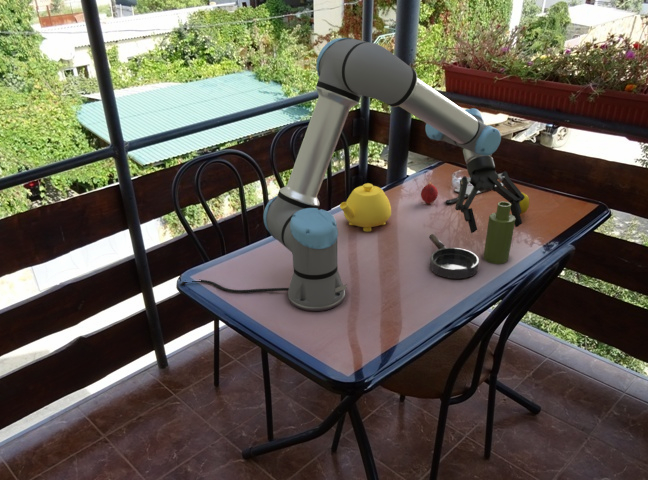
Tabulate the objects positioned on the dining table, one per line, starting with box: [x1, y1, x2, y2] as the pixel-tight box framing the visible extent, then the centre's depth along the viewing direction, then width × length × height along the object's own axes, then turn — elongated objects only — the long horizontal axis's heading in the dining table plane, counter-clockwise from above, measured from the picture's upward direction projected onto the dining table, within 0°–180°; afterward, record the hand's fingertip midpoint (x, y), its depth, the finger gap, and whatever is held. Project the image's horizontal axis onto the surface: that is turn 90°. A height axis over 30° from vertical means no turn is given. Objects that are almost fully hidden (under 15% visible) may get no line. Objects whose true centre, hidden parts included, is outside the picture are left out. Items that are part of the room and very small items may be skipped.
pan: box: [429, 247, 480, 280], centre depth 158 cm, size 13×13×3 cm
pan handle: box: [428, 233, 447, 250], centre depth 167 cm, size 2×10×2 cm, turn 10°
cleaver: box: [445, 181, 504, 205], centre depth 205 cm, size 29×1×10 cm
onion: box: [420, 181, 439, 205], centre depth 196 cm, size 6×6×8 cm
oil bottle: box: [482, 201, 515, 265], centre depth 158 cm, size 7×7×17 cm
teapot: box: [339, 182, 392, 232], centre depth 182 cm, size 20×16×14 cm
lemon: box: [510, 191, 530, 215], centre depth 184 cm, size 6×6×8 cm
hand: (496, 228), depth 159 cm, fingers open, 13 cm apart
